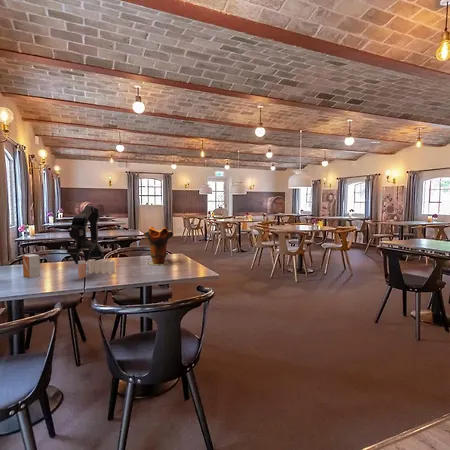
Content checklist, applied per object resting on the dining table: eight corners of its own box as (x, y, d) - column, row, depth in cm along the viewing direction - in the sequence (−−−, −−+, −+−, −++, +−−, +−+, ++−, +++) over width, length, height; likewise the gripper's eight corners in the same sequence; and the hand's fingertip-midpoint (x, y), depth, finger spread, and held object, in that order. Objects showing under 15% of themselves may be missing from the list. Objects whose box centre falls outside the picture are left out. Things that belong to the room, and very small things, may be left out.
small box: (23, 276, 193) (22, 255, 192) (34, 274, 198) (33, 253, 197) (29, 278, 188) (28, 256, 187) (40, 276, 194) (39, 255, 193)
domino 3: (99, 271, 205) (99, 259, 204) (102, 272, 205) (101, 259, 204) (95, 273, 200) (94, 261, 200) (97, 273, 200) (97, 261, 199)
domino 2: (93, 271, 206) (93, 259, 205) (95, 271, 206) (95, 259, 205) (88, 273, 201) (88, 260, 200) (91, 273, 201) (90, 261, 200)
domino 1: (83, 276, 193) (83, 263, 192) (86, 276, 193) (85, 263, 192) (78, 278, 188) (78, 265, 187) (80, 278, 188) (80, 265, 187)
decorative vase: (170, 258, 248) (169, 223, 245) (175, 266, 227) (174, 227, 223) (142, 260, 242) (141, 224, 238) (145, 268, 220) (144, 228, 216)
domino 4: (106, 272, 204) (105, 259, 204) (108, 272, 204) (108, 260, 203) (101, 274, 199) (101, 261, 199) (104, 274, 199) (103, 261, 198)
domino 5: (112, 272, 203) (112, 260, 203) (114, 272, 203) (114, 260, 203) (108, 274, 199) (107, 261, 198) (110, 274, 198) (110, 261, 198)
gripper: (83, 239, 178) (84, 266, 179) (102, 235, 196) (103, 260, 197) (65, 238, 180) (66, 265, 181) (85, 234, 198) (86, 259, 199)
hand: (81, 262), depth 190 cm, fingers open, 9 cm apart
